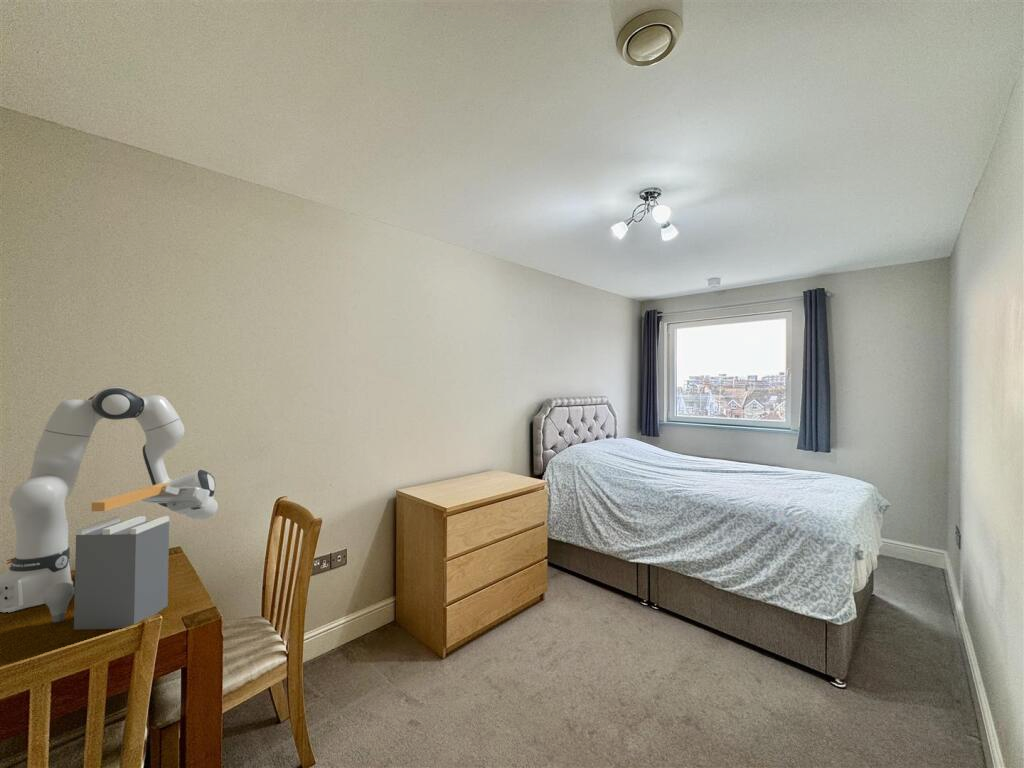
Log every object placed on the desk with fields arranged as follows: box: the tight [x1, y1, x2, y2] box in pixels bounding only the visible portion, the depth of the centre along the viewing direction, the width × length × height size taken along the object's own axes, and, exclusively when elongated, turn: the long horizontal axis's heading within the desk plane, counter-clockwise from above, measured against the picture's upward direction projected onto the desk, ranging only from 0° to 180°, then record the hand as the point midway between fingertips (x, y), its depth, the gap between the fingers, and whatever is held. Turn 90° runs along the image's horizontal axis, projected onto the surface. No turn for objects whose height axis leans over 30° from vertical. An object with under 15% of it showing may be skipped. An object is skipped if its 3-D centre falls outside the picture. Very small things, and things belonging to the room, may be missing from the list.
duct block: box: [73, 515, 170, 630], centre depth 122 cm, size 16×12×28 cm
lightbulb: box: [43, 582, 75, 623], centre depth 119 cm, size 6×6×11 cm
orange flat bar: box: [91, 483, 170, 512], centre depth 130 cm, size 4×24×2 cm, turn 3°
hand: (156, 488), depth 138 cm, fingers closed on orange flat bar, 3 cm apart
